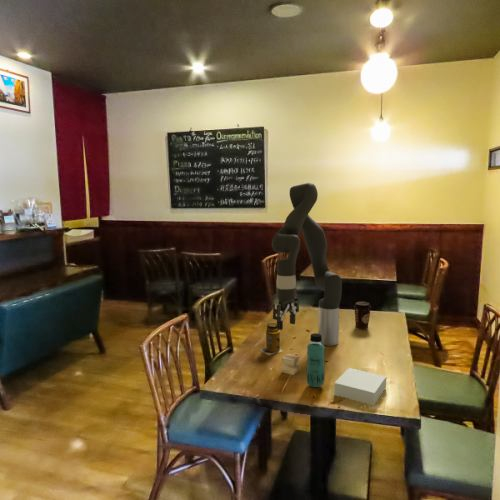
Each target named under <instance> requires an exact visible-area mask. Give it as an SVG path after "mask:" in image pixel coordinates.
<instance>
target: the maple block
mask: <svg viewBox="0 0 500 500" xmlns="http://www.w3.org/2000/svg"><path fill="white" fill-rule="evenodd" d="M298 372H300V356H299V355H296V354H292V353H291V354H290V353H286V354H285V355H284V356H283V357H281V373H283V374H287V375H291V376H295V374H297V373H298Z"/></svg>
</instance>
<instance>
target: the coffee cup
mask: <svg viewBox="0 0 500 500" xmlns="http://www.w3.org/2000/svg"><path fill="white" fill-rule="evenodd" d="M353 309H354V317H355V318H354V322H355V325H354V327H355V329H356V330H362V331H363V330H367V329H369V323H370V317H371V309H372V306H371V305H370V302H367V301H357V302H355V304H354V305H353Z"/></svg>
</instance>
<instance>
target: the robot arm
mask: <svg viewBox="0 0 500 500" xmlns="http://www.w3.org/2000/svg"><path fill="white" fill-rule="evenodd" d="M318 194H319V193H318V189H317V187H316V185H315V184H314V183H312V182H307V183H302V184H298V185H294V186H291V187H290V188H289V198H290V202H291V206H292V207H293V210H292V211H290V212H289V213H288V215H287V217H286V218H285V221H284V223H283V225H282V227H281V228H279V230H278V231H277V232H276V233H275V234H274V236H273V238H272V240H271V247H272V250H273V251H274V252H276V253H282V254H283V253H284V254H289V255H288V257H286V258H280V259H278V260H277V261H276V281H275V282H276V298H277V299H278V302H277V303H273V305H272V320H275V321H276V324H277V329H278V330H279V331H282V330H283V328H284V323H283V322H284V320H283V319H284V317H285V316H286V315H287V313H288V312H289V324H290V325H295V324H296V315H297V313H299V312H300V298H299V297H297V277H296V266H297V265H296V261H297V258H298V254H299V251H300V247H301V239H300V238H299V235H300V233H302V235H303V240H304V243H305V247H306V249H307V252H308V256H309V260H310V262H311V263H310V264H311V266H312V267H311V268H312V272H313V275H314V277H313V278H314V281H315V285H316V287H317V288H318V289H319V290H320V291H322V292H323V293H324V294H323V298H320V299H319V300H318V334H321V336H322V341H321V342H320V343H322V344H323V345H324V346H327V347H328V346H331V347H332V346H337V345H338V344H339V334H340V333H339V331H340V303H341V300H342V289H343V281H342V278H341V276H340V275H339V274H337V273H335V272H331V271H330V269H329V267H328V264H327V259H326V257H327V251H328V242H327V238H326V234H325V232H324V229H323V228H322V227H321V226H320V224H319V223H318V222H316V221H315V220H314V219H313V218H312V217H311V215H309V214H310V212H311V210H312V209H313V208H314V206H315V204H316V203H317V200H318Z"/></svg>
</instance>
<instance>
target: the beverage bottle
mask: <svg viewBox="0 0 500 500" xmlns="http://www.w3.org/2000/svg"><path fill="white" fill-rule="evenodd" d="M309 339H310V340H309V341H310V343H308V344H307V345H306V348H307V349H306V351H307V352H306V353H307V354H306V383H307V385H308V386H310V387H314V388H315V387H316V388H318V387H321V386H323V385H324V383H325V368H326V367H325V349H326V347H325V345H323V344H322V343H320V342H321V341H322V336H321V334H319V332H318V333H317V332H314V333H311V334H310V338H309Z"/></svg>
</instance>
